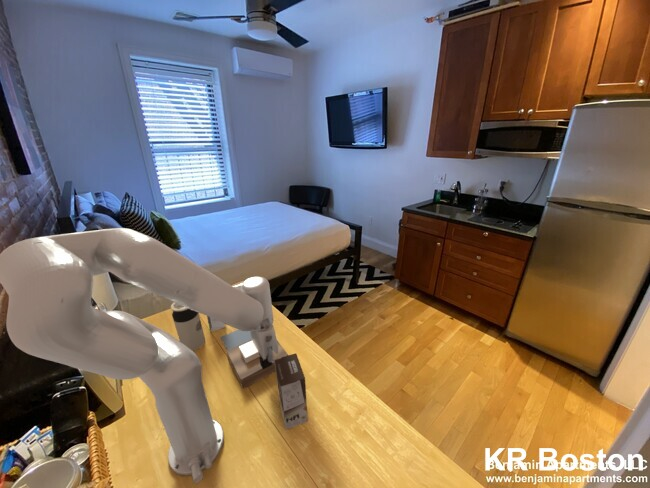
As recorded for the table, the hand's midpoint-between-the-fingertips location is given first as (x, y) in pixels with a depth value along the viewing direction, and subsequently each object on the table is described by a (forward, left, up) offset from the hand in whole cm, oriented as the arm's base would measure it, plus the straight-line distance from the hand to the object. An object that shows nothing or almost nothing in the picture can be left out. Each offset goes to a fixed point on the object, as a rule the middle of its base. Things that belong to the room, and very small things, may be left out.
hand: (266, 365), depth 85 cm
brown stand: (+7, 0, -5) cm, 9 cm away
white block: (+8, 0, -1) cm, 8 cm away
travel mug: (+29, +16, -5) cm, 34 cm away
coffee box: (-15, -1, -5) cm, 15 cm away
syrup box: (+34, +6, -5) cm, 35 cm away
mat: (+21, 0, -5) cm, 21 cm away
